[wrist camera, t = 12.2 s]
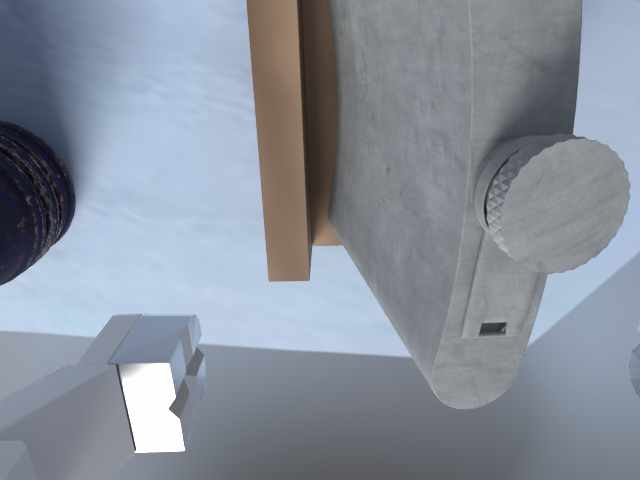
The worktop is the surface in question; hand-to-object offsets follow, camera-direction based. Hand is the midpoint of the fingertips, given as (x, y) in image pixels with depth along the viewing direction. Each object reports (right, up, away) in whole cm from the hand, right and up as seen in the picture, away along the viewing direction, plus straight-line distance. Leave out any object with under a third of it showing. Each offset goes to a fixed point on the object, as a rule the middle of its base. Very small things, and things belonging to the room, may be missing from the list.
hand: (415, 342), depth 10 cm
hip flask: (+1, +10, +22) cm, 24 cm away
